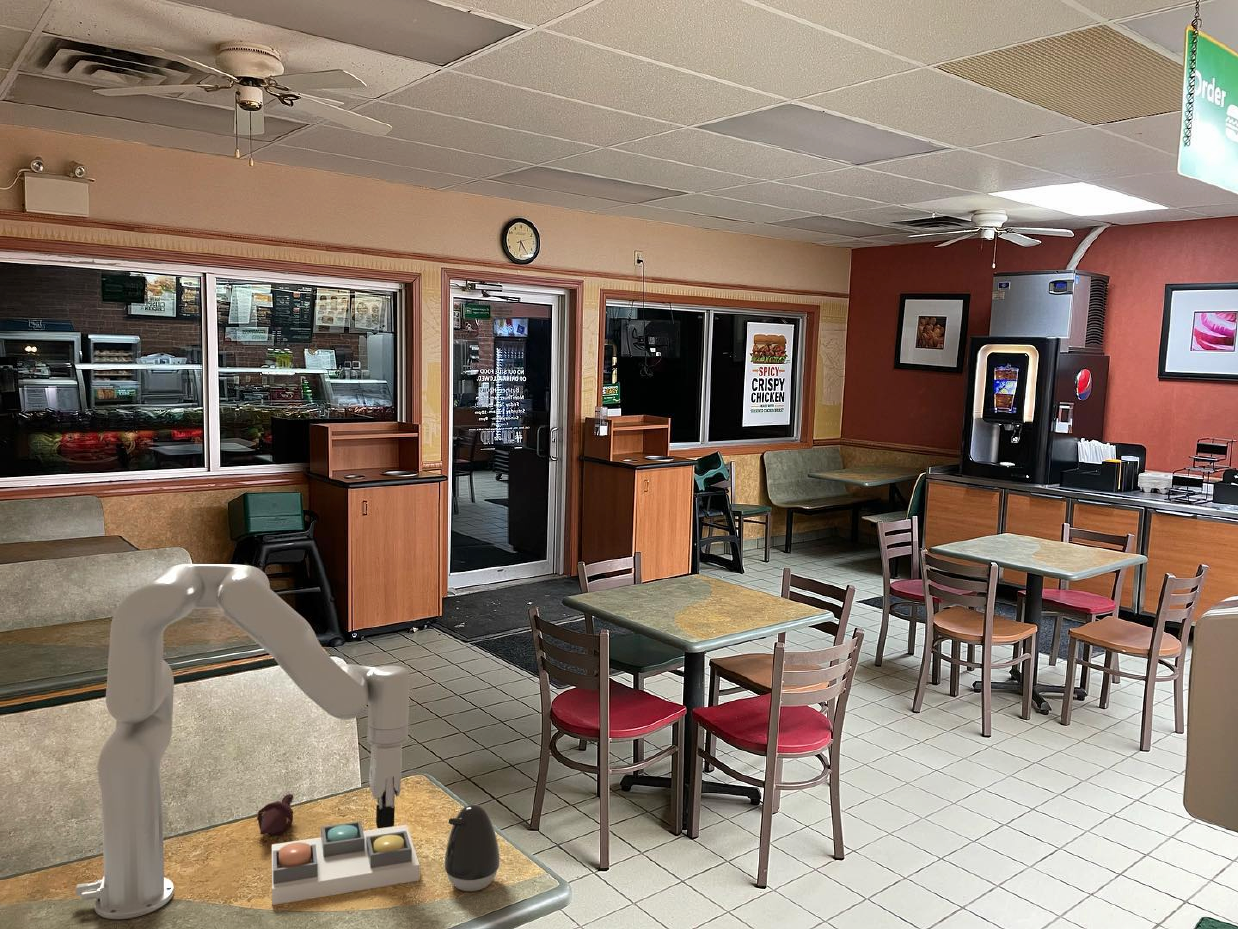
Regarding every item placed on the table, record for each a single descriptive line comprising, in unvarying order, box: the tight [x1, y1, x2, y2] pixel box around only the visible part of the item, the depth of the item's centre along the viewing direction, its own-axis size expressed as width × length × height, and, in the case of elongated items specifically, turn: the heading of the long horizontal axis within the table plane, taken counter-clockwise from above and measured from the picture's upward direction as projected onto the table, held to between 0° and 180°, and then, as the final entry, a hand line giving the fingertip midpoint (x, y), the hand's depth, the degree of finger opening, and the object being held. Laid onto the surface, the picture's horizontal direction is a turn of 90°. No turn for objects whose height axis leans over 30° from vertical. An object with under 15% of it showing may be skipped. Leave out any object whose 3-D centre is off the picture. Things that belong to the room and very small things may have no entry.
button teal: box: [328, 825, 357, 842], centre depth 180 cm, size 6×6×2 cm
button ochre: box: [374, 835, 404, 853], centre depth 176 cm, size 6×6×2 cm
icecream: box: [256, 793, 294, 837], centre depth 189 cm, size 7×7×15 cm
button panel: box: [271, 820, 420, 906], centre depth 176 cm, size 26×17×6 cm, turn 111°
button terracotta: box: [279, 843, 311, 868], centre depth 170 cm, size 6×6×2 cm
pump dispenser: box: [444, 803, 501, 892], centre depth 171 cm, size 10×10×15 cm
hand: (385, 825), depth 175 cm, fingers closed
